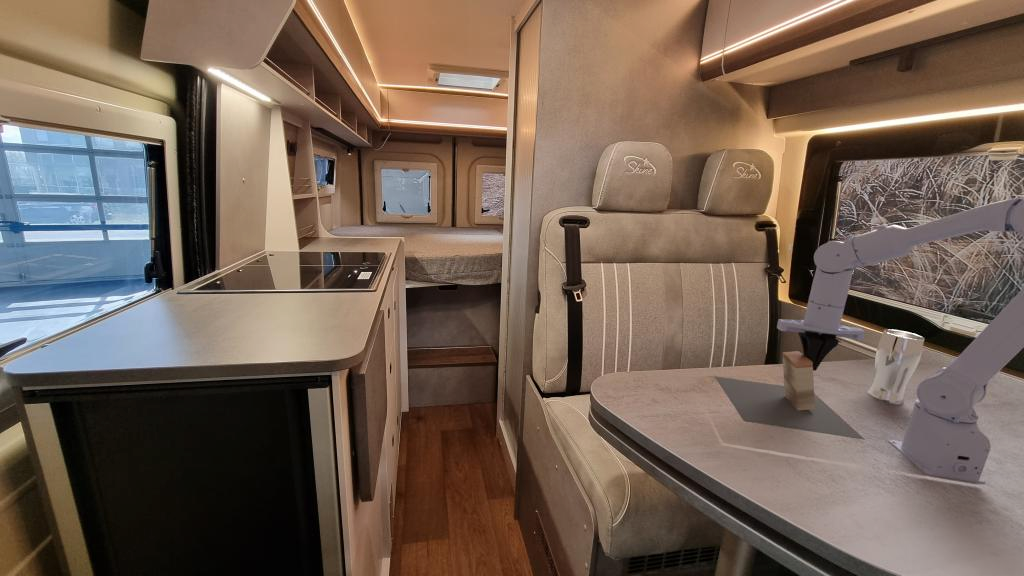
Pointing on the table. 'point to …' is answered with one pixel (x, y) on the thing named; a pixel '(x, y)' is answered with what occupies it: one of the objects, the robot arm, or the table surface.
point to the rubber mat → (782, 408)
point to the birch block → (798, 380)
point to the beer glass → (895, 364)
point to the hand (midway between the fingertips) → (810, 368)
